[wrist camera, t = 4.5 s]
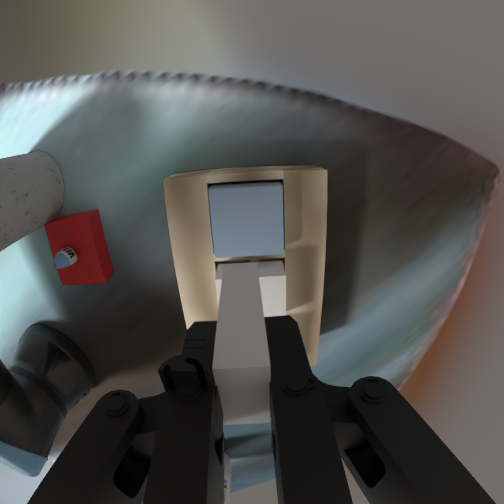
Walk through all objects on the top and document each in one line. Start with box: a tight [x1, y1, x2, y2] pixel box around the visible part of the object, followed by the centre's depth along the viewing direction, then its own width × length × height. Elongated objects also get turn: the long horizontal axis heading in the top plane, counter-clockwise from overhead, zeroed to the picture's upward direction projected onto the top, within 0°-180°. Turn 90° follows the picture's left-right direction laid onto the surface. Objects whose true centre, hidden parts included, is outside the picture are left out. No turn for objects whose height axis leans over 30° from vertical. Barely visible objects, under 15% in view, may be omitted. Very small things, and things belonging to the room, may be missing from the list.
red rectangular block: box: [44, 210, 114, 285], centre depth 28 cm, size 8×7×6 cm
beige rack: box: [163, 165, 327, 366], centre depth 30 cm, size 14×22×5 cm, turn 3°
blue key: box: [208, 180, 284, 258], centre depth 24 cm, size 6×6×3 cm
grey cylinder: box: [0, 151, 64, 251], centre depth 22 cm, size 10×10×12 cm
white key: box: [215, 261, 286, 317], centre depth 26 cm, size 6×6×3 cm
